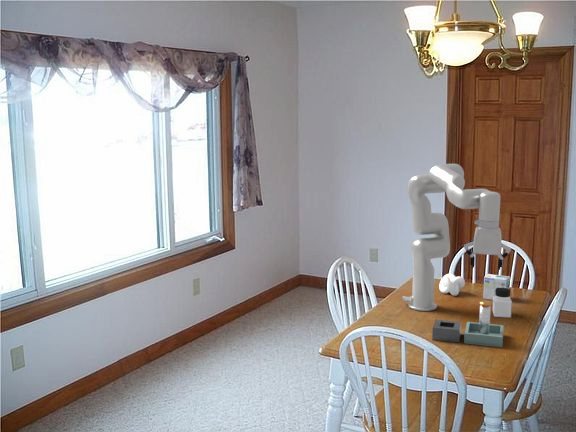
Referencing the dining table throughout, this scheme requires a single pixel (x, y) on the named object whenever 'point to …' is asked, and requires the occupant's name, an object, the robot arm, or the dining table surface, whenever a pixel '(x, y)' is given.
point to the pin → (484, 316)
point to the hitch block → (446, 330)
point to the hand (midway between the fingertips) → (486, 267)
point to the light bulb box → (494, 284)
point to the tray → (483, 335)
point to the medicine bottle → (502, 303)
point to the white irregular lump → (451, 284)
